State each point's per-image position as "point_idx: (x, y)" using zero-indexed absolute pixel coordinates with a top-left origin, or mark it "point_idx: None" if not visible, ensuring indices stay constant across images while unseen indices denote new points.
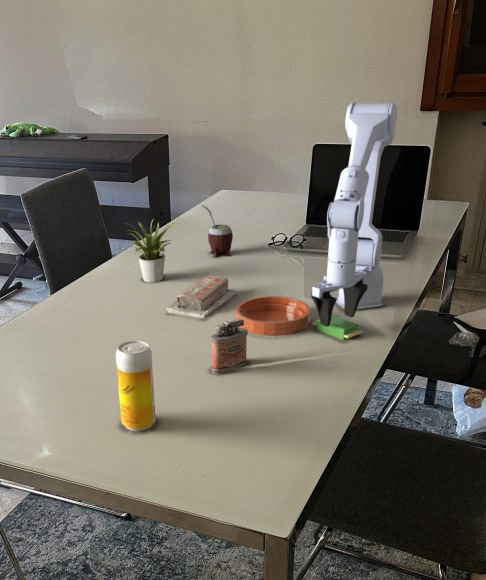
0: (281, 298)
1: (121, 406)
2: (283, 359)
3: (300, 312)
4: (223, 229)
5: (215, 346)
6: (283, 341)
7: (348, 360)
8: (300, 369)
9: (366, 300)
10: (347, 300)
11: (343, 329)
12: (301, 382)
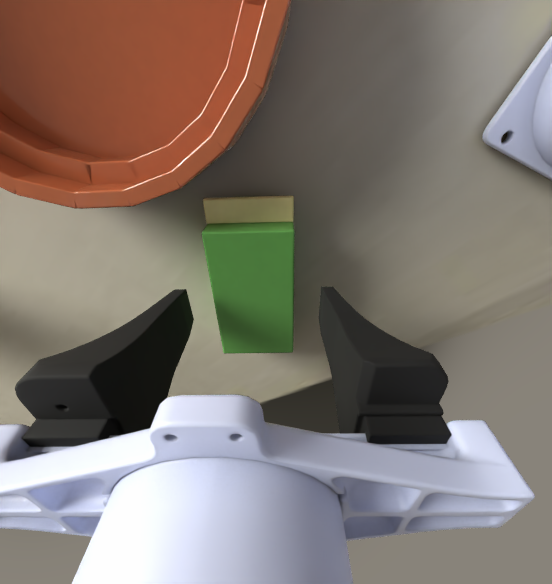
0: None
1: None
2: (4, 302)
3: (235, 35)
4: None
5: None
6: (48, 203)
7: (170, 386)
8: (34, 360)
9: None
10: (336, 333)
11: (223, 351)
12: (15, 393)
